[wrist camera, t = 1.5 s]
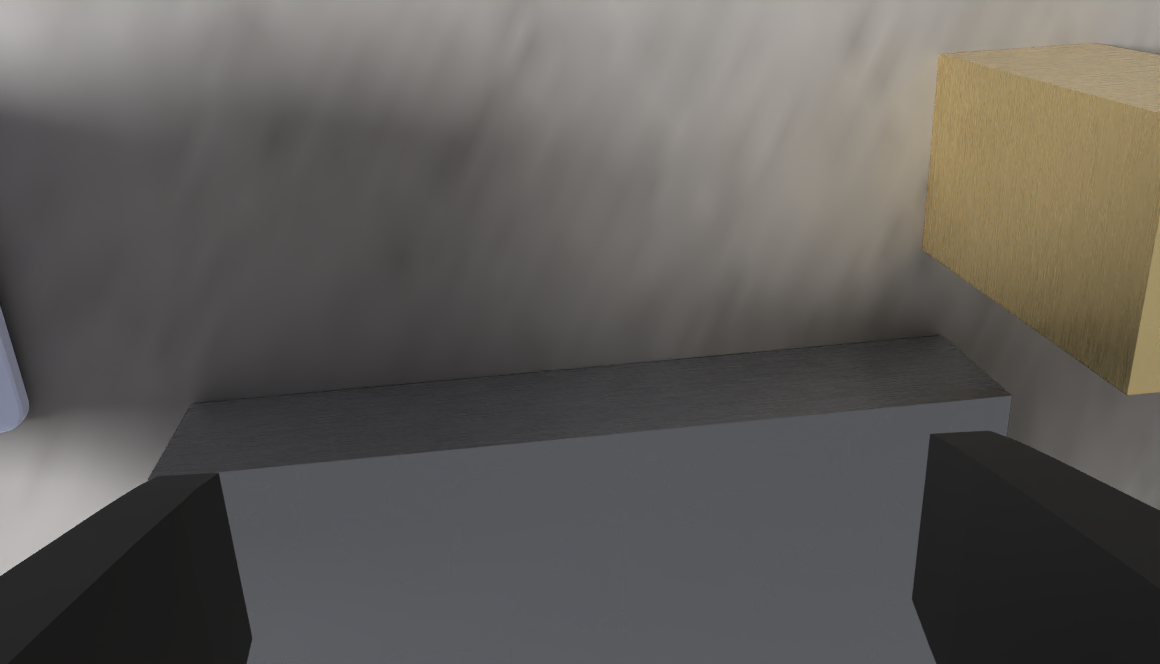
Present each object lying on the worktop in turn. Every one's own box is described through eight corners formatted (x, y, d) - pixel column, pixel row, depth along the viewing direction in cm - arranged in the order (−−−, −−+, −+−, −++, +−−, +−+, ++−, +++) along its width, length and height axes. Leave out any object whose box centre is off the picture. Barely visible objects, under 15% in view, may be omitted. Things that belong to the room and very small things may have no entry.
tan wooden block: (922, 249, 21) (1126, 395, 14) (939, 53, 19) (1177, 117, 13) (1067, 237, 21) (1333, 375, 15) (1096, 43, 19) (1407, 100, 13)
